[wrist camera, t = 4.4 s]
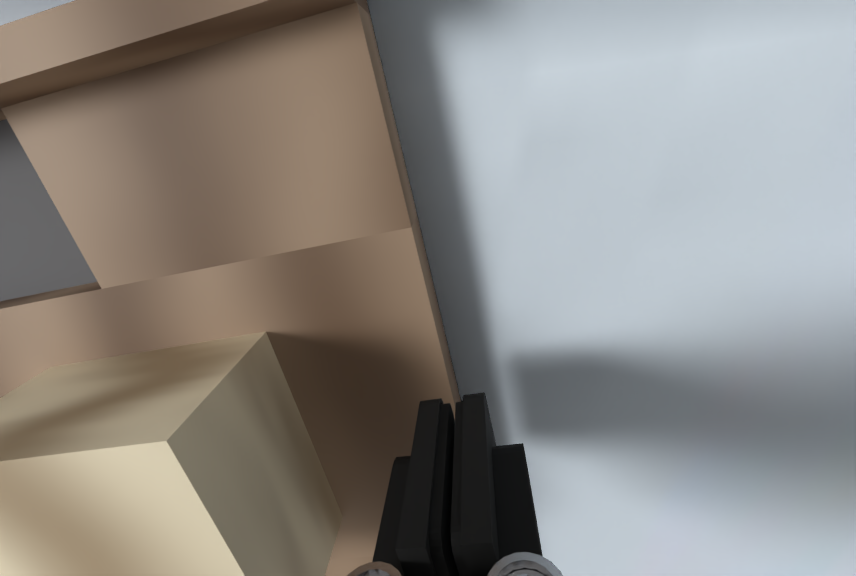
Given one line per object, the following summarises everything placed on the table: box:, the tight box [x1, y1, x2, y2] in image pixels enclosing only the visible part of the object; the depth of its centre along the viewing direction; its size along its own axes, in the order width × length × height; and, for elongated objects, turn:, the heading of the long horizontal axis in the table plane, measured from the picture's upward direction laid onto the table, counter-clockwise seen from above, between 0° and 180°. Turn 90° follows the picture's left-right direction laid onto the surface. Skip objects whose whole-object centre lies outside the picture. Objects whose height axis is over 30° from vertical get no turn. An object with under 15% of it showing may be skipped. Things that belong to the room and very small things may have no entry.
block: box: [0, 332, 343, 576], centre depth 11 cm, size 7×7×4 cm
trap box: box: [0, 0, 461, 576], centre depth 14 cm, size 30×22×3 cm
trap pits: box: [0, 119, 98, 301], centre depth 15 cm, size 17×20×1 cm
